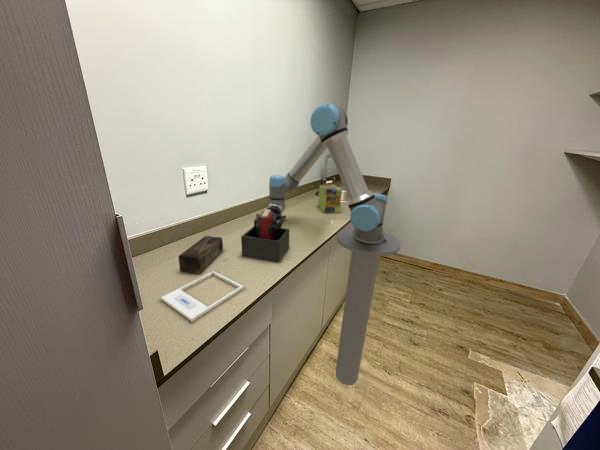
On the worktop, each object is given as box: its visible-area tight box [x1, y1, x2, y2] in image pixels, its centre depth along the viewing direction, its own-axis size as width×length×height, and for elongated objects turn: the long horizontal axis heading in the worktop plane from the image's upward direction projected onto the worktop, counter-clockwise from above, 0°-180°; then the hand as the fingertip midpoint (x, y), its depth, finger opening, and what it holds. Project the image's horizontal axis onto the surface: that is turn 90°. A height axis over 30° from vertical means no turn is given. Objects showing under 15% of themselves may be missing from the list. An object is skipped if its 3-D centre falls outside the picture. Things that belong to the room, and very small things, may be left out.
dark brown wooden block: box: [178, 235, 224, 274], centre depth 91 cm, size 8×19×7 cm, turn 172°
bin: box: [240, 225, 290, 263], centre depth 100 cm, size 16×14×9 cm
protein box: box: [317, 183, 343, 214], centre depth 160 cm, size 10×15×16 cm
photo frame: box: [160, 270, 244, 323], centre depth 73 cm, size 15×1×18 cm
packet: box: [259, 208, 273, 240], centre depth 97 cm, size 4×8×13 cm, turn 176°
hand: (263, 231), depth 92 cm, fingers closed on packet, 4 cm apart
